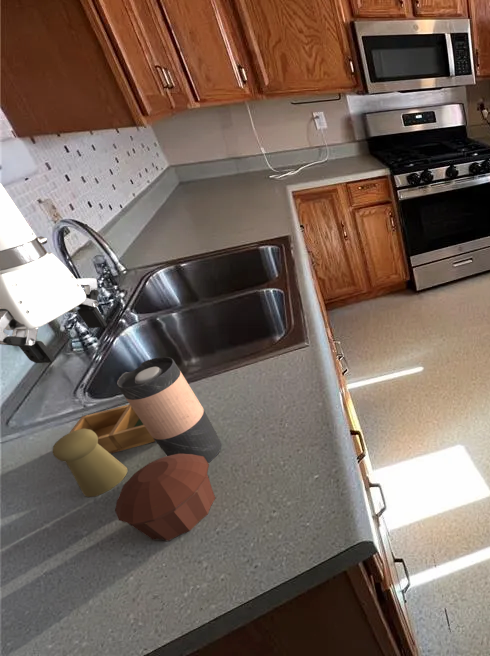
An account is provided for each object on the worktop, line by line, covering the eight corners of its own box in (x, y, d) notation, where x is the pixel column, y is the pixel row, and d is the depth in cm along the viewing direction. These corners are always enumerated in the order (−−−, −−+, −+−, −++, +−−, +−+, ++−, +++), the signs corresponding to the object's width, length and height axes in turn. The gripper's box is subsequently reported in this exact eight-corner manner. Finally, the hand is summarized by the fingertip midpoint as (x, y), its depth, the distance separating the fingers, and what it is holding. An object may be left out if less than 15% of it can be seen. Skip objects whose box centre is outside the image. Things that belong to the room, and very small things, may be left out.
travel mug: (218, 463, 74) (165, 378, 65) (168, 480, 72) (106, 394, 62) (227, 432, 80) (180, 350, 71) (181, 446, 78) (127, 364, 69)
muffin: (120, 558, 60) (81, 517, 56) (161, 489, 70) (131, 449, 65) (208, 538, 62) (177, 496, 57) (236, 473, 72) (212, 433, 67)
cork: (74, 501, 69) (34, 457, 64) (96, 471, 75) (60, 428, 69) (116, 490, 71) (79, 447, 65) (134, 461, 76) (102, 418, 71)
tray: (68, 465, 76) (55, 450, 74) (93, 430, 83) (81, 416, 81) (171, 436, 80) (161, 422, 78) (186, 406, 88) (177, 391, 86)
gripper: (45, 235, 73) (98, 316, 81) (-83, 284, 57) (-2, 378, 65) (85, 233, 72) (134, 314, 80) (-34, 282, 57) (42, 376, 65)
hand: (73, 343), depth 73 cm, fingers open, 9 cm apart
